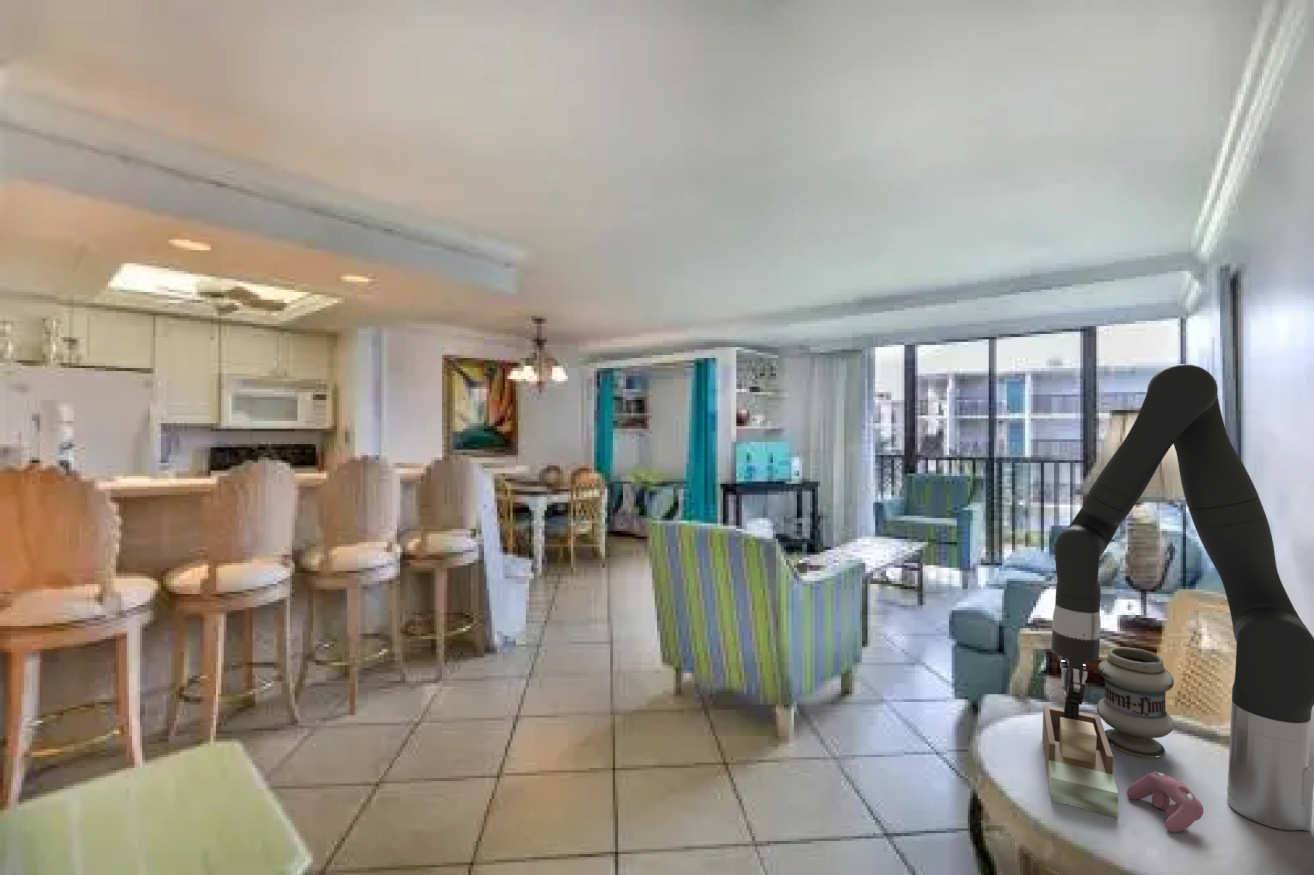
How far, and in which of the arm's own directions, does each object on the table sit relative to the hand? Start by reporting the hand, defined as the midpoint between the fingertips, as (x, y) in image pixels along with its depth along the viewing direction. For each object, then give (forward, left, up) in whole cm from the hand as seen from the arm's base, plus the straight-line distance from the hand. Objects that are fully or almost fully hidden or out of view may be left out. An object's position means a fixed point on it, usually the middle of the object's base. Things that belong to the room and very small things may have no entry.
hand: (1070, 719), depth 121 cm
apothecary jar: (-11, -10, -7) cm, 17 cm away
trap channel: (0, +7, -7) cm, 10 cm away
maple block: (0, +8, -3) cm, 8 cm away
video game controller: (-12, +14, -7) cm, 19 cm away
